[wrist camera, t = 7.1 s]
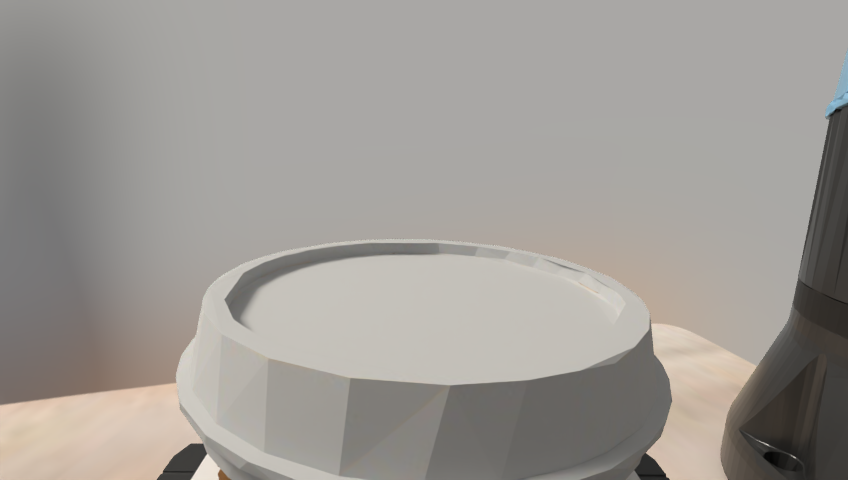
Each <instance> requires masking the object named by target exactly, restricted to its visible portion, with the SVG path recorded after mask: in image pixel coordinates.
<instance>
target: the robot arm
mask: <svg viewBox="0 0 848 480" xmlns="http://www.w3.org/2000/svg"><path fill="white" fill-rule="evenodd" d="M825 117H826V119H829V126H828V130H827V135H826V140H825V145H824V151H823V155H822V160H821V166H820V170H819V175H818V181H817V185H816V190H815V195H814V200H813V205H812V210H811V215H810V220H809V225H808V231H807V235H806V241H805V245H804V250H803V255H802V260H801V266H800V270H799V275H798V281H797V286H796V291H795V296H794V301H793V304H792V308H791V313H790V317H789V319H788V322H787V324H786V325H785V326H784V328H783V330H782V331H781V332H780V334H779V335H778V337H777V338H776V340H775V341H774V343H773V344H772V346H771V347H770V349H769V350H768V352H767V353H766V355H765V356H764V358H763V359H762V360H761V362H760V363H759V365H758V366H757V368H756V369H755V371H754V372H753V374H752V375H751V377H750V378H749V380H748V381H747V383H746V384H745V386H744V387H743V388H742V390H741V391H740V393H739V394H738V396H737V397H736V399H735V400H734V402H733V403H732V405H731V407H730V410H729V412H728V415H727V419H726V424H725V430H724V435H723V440H722V446H721V462H722V466H723V469H724V472H725V474H726V476H727V478H728V480H848V50H847V53H846V57H845V61H844V65H843V68H842V71H841V75H840V78H839V82H838V86H837V89H836V93H835V96H834V100H833V101H832V102H831V103H830V104H829V105H828V106H827V109H826V115H825ZM219 470H220V468H219V467H218V466H217V464H216V463H215V462H214V461H213V459H212V458H211V457H210V456H209V455H208V454H207V452H206V450H205V447H204V444H190V445H189V446H187V447H186V448H184V449H183V450H182V451H180V452H179V453H178V454H176V455H175V456H174V457H173V458H172V459H171V461H170V462H169V464H168V465H167V466H166V468H165V469H164V470H163V474H161V475H160V476H159V477H158V479H157V480H219V477H218V472H219ZM626 480H669V478H666V474H665V473H664V471H663V470H662V469H661V467H660V466H659V465H658V463H657V462H656V461H655V460H654V459H653V458H651V457H650V456H649V455H647V454H646V453H645V454H644V455H643V456H642V458H641V461H640V464H639V465H638V466H637V467H636V468H635V470H634V471H633V472H632V473H631V474H630V475H629V477H628V478H627V479H626Z"/></svg>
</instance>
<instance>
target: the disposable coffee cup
mask: <svg viewBox="0 0 848 480" xmlns="http://www.w3.org/2000/svg"><path fill="white" fill-rule="evenodd" d="M176 382H177V389H178V397H179V404H180V410H181V411H182V413H183V414H184V415H185V417H186V418H187V420H188V421H189V422H190V424H191V425H192V427H193V428H194V429H195V431H196V432H197V434H198V435H199V436H200V438H201V439H202V441H203V444H204V447H205V450H206V452H207V454H208V455H209V456H210V457H211V458H212V459H213V461H214V462H215V463H216V464H217V466H218V467H219V468H220V470H219V472H218V477H219V480H626V479H627V478H628V477H629V475H630V474H631V473H632V472H633V471H634V470H635V468H636V467H637V466H638V465H639V464H640V461H641V458H642V456H643V455H644V454H645V453H646V452H647V451H648V449H649V448H650V447H651V446H652V445H653V444H654V443H655V442H656V441H657V440H658V439H659V438H660V437H661V434H662V431H663V429H664V426H665V423H666V420H667V416H668V413H669V409H670V406H671V403H672V397H671V390H670V382H669V378H668V376H667V374H666V372H665V369H664V367H663V365H662V364H661V362H660V361H659V360H658V359H657V357H656V356H655V355H654V351H653V341H652V330H651V320H650V313H649V311H648V309H647V307H646V305H645V304H644V302H643V301H642V300H641V299H640V298H639V297H638V296H637V295H636V294H635V293H634V292H633V291H631V290H630V289H628V288H627V287H625V286H624V285H622V284H620V283H619V282H618V281H616V280H614V279H613V278H611V277H609V276H606V275H604V274H601V273H599V272H596V271H594V270H591V269H589V268H586V267H584V266H581V265H578V264H575V263H572V262H569V261H565V260H562V259H559V258H555V257H551V256H546V255H541V254H537V253H533V252H528V251H523V250H518V249H512V248H507V247H502V246H494V245H485V244H476V243H466V242H457V241H442V240H420V239H413V240H412V239H387V240H386V239H382V240H360V241H349V242H338V243H329V244H323V245H317V246H310V247H305V248H298V249H292V250H286V251H283V252H279V253H275V254H272V255H268V256H264V257H261V258H258V259H255V260H252V261H249V262H246V263H243V264H241V265H240V266H238V267H236V268H234V269H233V270H231V271H229V272H227V273H226V274H224V275H222V276H220V278H218V279H217V280H216V281H215V282H214V283H212V284H211V285H210V286H209V288H208V290H207V292H206V293H205V295H204V297H203V302H202V307H201V312H200V317H199V323H198V328H197V333H196V336H195V337H194V338H193V340H192V341H191V343H190V344H189V345H188V347H187V348H186V350H185V351H184V352H183V354H182V355H181V359H180V363H179V366H178V369H177V373H176Z"/></svg>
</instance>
